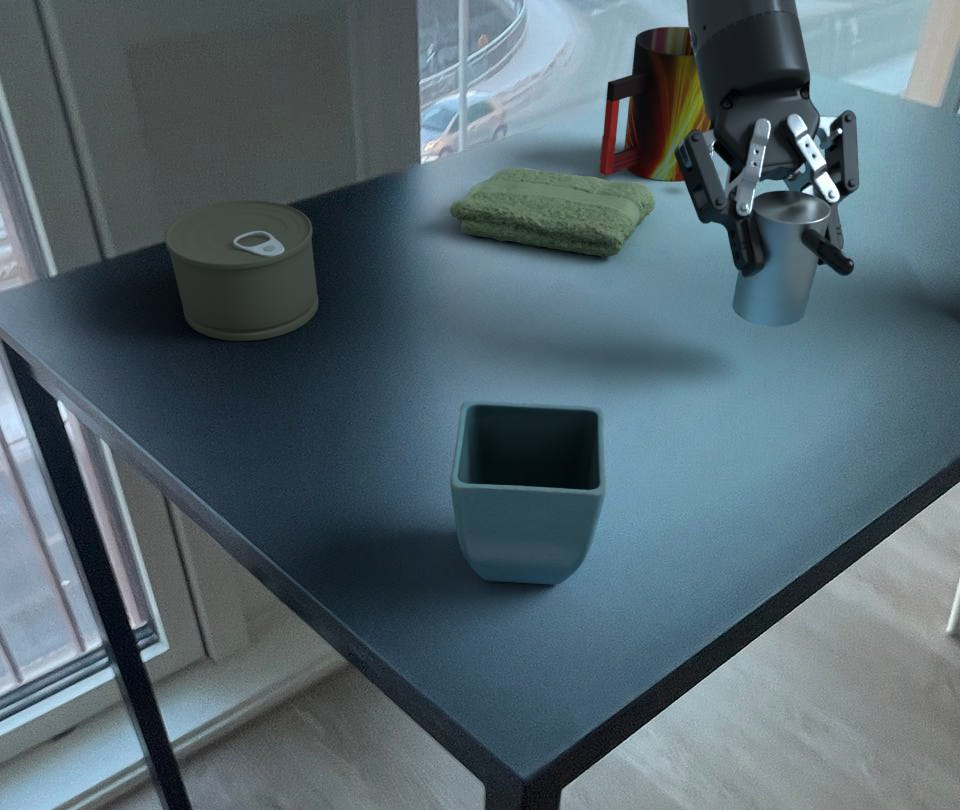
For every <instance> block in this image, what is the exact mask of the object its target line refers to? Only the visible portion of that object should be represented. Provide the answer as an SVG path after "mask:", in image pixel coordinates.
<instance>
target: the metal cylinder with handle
mask: <svg viewBox="0 0 960 810" xmlns="http://www.w3.org/2000/svg"><path fill="white" fill-rule="evenodd" d="M830 212H831V210H830V207H829V205H828V204H827V203H826V202H825V201H823V200H822V199H820V198H818V197H816V196H813V195H810V194H807V193H803V192H797V191H790V190H771V191H765V192H763V193H759V194H758V195H757V196H754V200H753V206H752V211H751V213H750V214H749V215H750V217H754V216H755V219H756V223H757V227H758V232H759V237H760V242H761V247H762V252H763V257H764V268H763V270H761V271H760V272H759V273H757V274H756V275H755V276H751V277H743V275H742V272H741V270H738V272H737V277H736V282H735V289H734V292H733V293H734V294H733V297H732V298H733V299H732V304H731V305H732V310H733V311H734V313H735V314H736V315H737V316H738V317H739V318H741V319H743V320H745V321H746V322H749V323H751V324H754V325H758V326H764V327H773V328H774V327H778V328H779V327H787V326H792V325H794V324H796V323H799V322H800V321H801V320H803V319H804V317H805V315H806V312H807V310H808V309H807V308H808V305H809V301H810V296H811V292H812V288H813V284H814V281H815V276H816V273H817V268H818V260H819V258H820V259H821V260H822V261H823V262H825V263H826V266H827V267H829V268H830V269H831V270H833V271H834V272H835V273H836V274H838V275H839V276H841V277H846V276H849V275H851V274H852V273H853V271H854V269H855V261H854V260H853V259H852V258H851V257H849V256H848V255H847V254H846V253H845V252H843V251H842V249H841V250H840V249H838V248H837V247H836V246H835V245H833V244H832V243H831V242H830V241H828V240H827V239H826V238H825V237H824V236H825V232H826V228H827V224H828V220H829V216H830Z"/></svg>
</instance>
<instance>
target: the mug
mask: <svg viewBox="0 0 960 810" xmlns="http://www.w3.org/2000/svg"><path fill="white" fill-rule="evenodd" d="M633 50H634V51H633V60H632V70H631V74H629V75H626V76H622V77H620V78H617V79H614V80H611V81H607V89H606V100H605V112H604V123H603V133H602V134H603V135H602V138H601V148H600V159H599V160H600V161H599V174H601V175H602V176H603V175H604V176H606V177H607V176H610V175H612V174H615V173H617V172H620V171H622V170H625V169H627V170H628V171H629V172H631V173H632V174H634V175H637V176H640V177H642V178H646V179H650V180H654V181H663V182H664V181H665V182H683V181H684V179H683V176H682V173H681V171H680V168H679V165H678V163H677V160H676V157H675V154H674V152H675V149H676V147H677V146H678V145H679V144H680V143H681V141H682V140H683V139H684V138H685V137H686V135H687V134H688V133H689V132H690V131H691V130H693V129H697V130H699V131H701V132H705V131H708V130H709V129H710V119H709V118H708V117H707V114H706V110H705V105H704V100H703V95H702V91H701V86H700V81H699V76H698V71H697V66H696V62H695V57H694V52H693V49H692V46H691V37H690V32H689V26H662V27H655V28H650V29H649V28H648V29H646V30H644V31H641V32H639V33H638V34H637V35H636V36H635V40H634V49H633ZM627 98H628V109H627V118H626V128H625V138H624V147H623V150H621V151H618V152H617V151H616V142H617V132H618V123H619V113H620V101H621V100H624V99H627ZM713 152H715V151H714V150H713Z"/></svg>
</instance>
